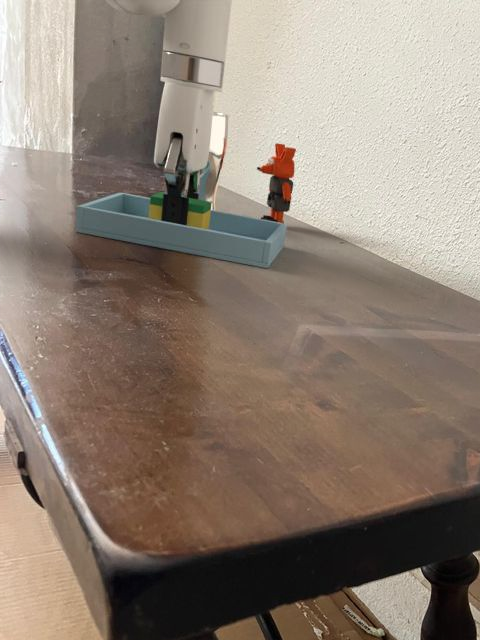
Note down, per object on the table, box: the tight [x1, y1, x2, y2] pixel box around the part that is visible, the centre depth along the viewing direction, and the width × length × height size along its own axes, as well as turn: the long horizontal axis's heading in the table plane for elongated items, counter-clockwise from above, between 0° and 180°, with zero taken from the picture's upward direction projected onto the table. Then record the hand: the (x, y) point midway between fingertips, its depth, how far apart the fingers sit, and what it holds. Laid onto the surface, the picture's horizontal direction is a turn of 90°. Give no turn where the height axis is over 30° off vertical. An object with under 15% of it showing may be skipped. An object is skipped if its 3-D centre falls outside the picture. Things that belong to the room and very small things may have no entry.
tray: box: [75, 191, 288, 269], centre depth 96 cm, size 24×16×3 cm, turn 85°
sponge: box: [149, 191, 212, 230], centre depth 98 cm, size 7×4×4 cm, turn 85°
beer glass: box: [194, 111, 230, 211], centre depth 109 cm, size 7×7×15 cm
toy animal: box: [256, 142, 297, 224], centre depth 115 cm, size 8×6×12 cm
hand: (178, 223), depth 98 cm, fingers closed on sponge, 4 cm apart
